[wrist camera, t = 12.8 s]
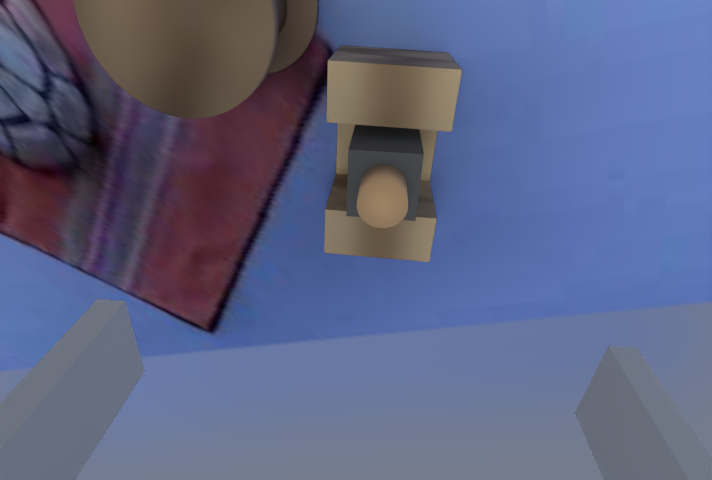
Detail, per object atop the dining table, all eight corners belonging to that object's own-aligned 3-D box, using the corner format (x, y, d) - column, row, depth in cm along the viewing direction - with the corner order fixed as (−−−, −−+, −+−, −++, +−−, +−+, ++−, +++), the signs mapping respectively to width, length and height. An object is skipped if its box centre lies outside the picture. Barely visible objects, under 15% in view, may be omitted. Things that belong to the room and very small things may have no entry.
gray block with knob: (356, 166, 32) (342, 236, 23) (358, 111, 30) (343, 165, 21) (410, 169, 31) (417, 242, 23) (416, 114, 29) (426, 171, 20)
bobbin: (202, 67, 29) (100, 111, 19) (185, -76, 25) (42, -118, 15) (318, 75, 29) (277, 125, 19) (319, -69, 25) (267, -106, 15)
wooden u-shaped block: (335, 208, 34) (324, 252, 29) (341, 45, 28) (327, 60, 22) (423, 215, 34) (429, 261, 28) (448, 52, 28) (462, 69, 22)
